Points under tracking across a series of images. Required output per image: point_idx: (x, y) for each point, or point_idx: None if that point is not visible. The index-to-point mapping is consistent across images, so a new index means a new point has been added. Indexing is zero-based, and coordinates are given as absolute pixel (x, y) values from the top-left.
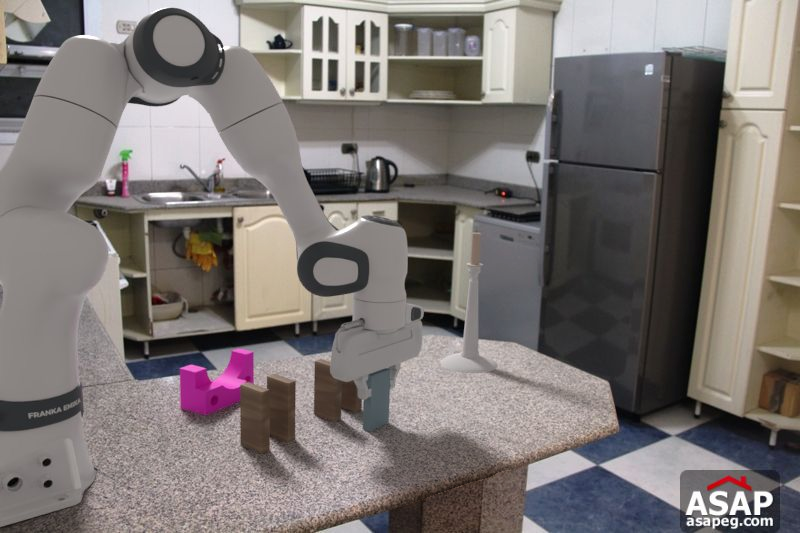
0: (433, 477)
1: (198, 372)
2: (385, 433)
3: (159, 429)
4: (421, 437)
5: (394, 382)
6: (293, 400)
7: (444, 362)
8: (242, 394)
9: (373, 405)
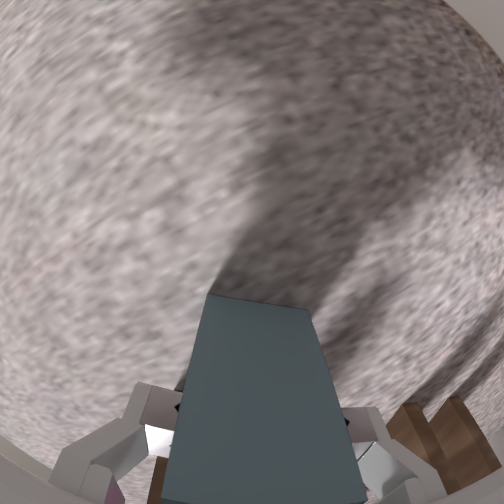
0: (462, 38)
1: None
2: (284, 268)
3: None
4: (247, 135)
5: (137, 404)
6: (438, 470)
7: None
8: None
9: (311, 372)
